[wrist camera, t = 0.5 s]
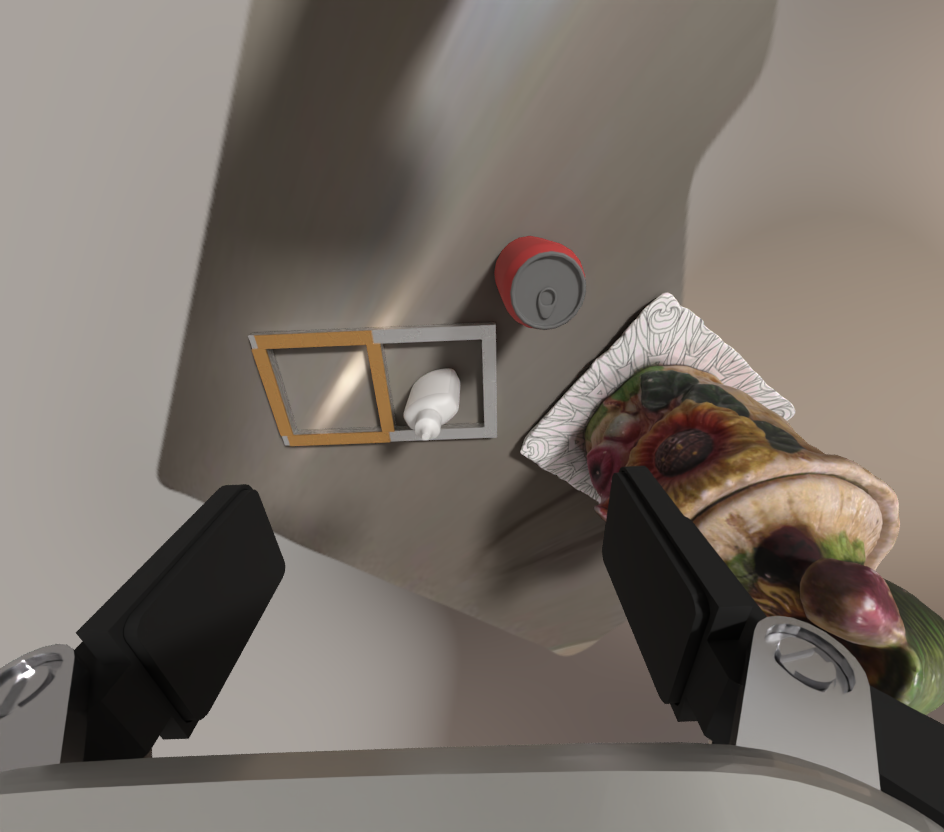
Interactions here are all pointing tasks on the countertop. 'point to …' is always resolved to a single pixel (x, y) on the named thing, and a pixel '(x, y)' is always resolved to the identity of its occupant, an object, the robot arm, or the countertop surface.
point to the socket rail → (374, 379)
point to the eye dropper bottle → (432, 402)
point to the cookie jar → (748, 490)
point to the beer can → (540, 282)
